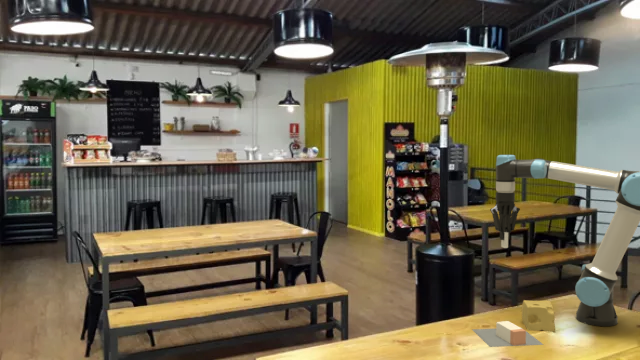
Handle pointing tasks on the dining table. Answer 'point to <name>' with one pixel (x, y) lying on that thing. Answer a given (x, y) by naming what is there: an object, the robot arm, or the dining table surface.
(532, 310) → the cheese
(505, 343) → the slate mat
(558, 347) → the dining table surface
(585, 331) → the dining table surface
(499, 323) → the tall block
